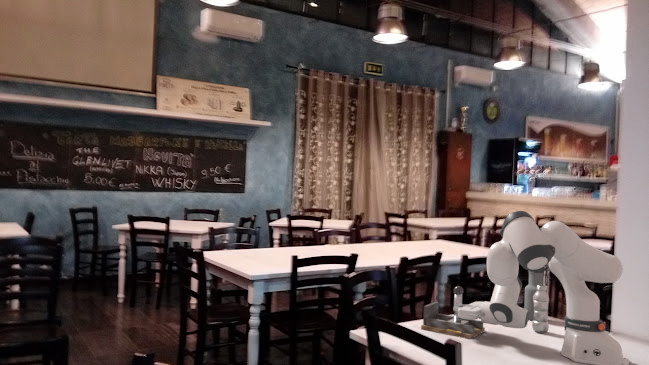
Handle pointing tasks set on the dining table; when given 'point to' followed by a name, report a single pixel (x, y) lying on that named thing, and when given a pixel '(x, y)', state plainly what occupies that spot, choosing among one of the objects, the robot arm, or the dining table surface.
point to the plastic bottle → (540, 310)
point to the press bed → (449, 323)
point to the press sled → (458, 302)
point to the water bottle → (534, 288)
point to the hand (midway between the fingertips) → (456, 307)
